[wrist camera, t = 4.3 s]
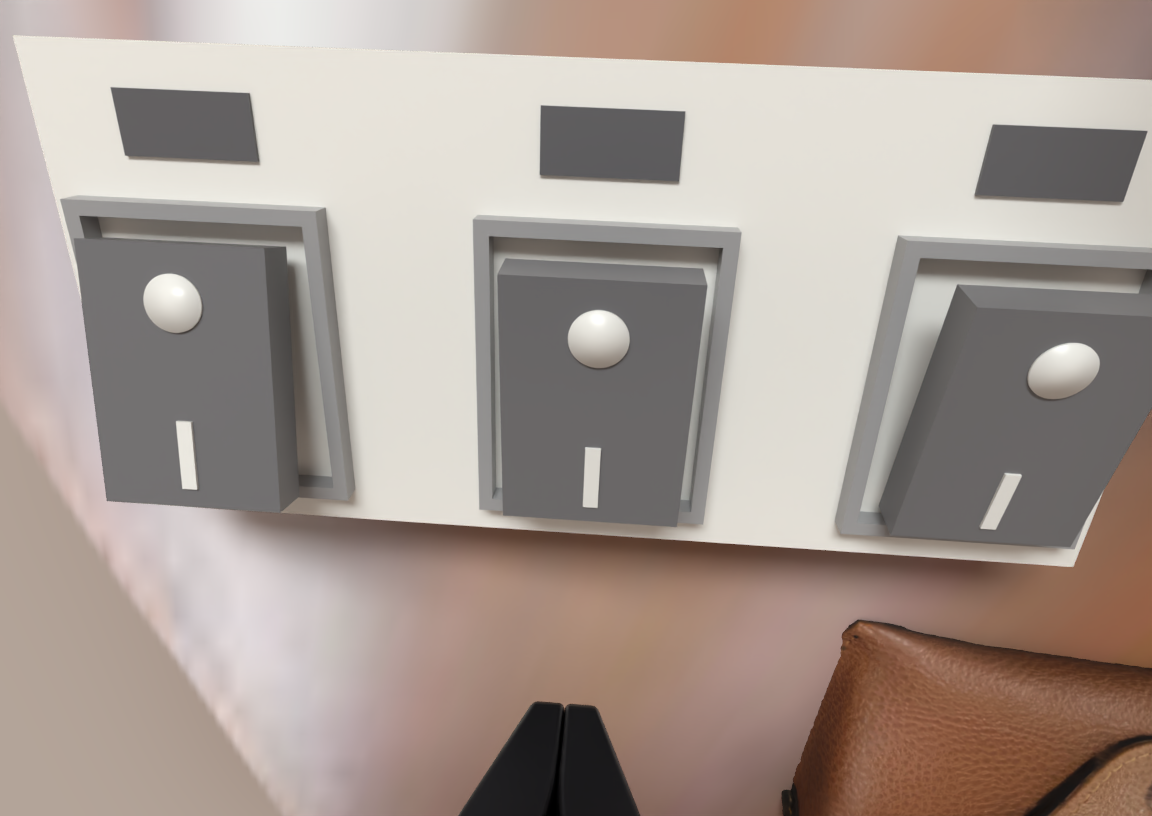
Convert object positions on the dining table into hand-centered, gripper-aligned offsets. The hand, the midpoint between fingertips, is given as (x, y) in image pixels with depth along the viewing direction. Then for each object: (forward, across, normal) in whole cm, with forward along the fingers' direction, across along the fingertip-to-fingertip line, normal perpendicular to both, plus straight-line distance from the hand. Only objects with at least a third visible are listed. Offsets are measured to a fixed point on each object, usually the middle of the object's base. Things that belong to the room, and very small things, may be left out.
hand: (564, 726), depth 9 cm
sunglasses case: (+11, -16, +11) cm, 22 cm away
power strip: (+10, -3, -3) cm, 11 cm away
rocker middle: (+6, 0, -2) cm, 6 cm away
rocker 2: (+6, -8, -2) cm, 10 cm away
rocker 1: (+6, +8, -2) cm, 10 cm away
